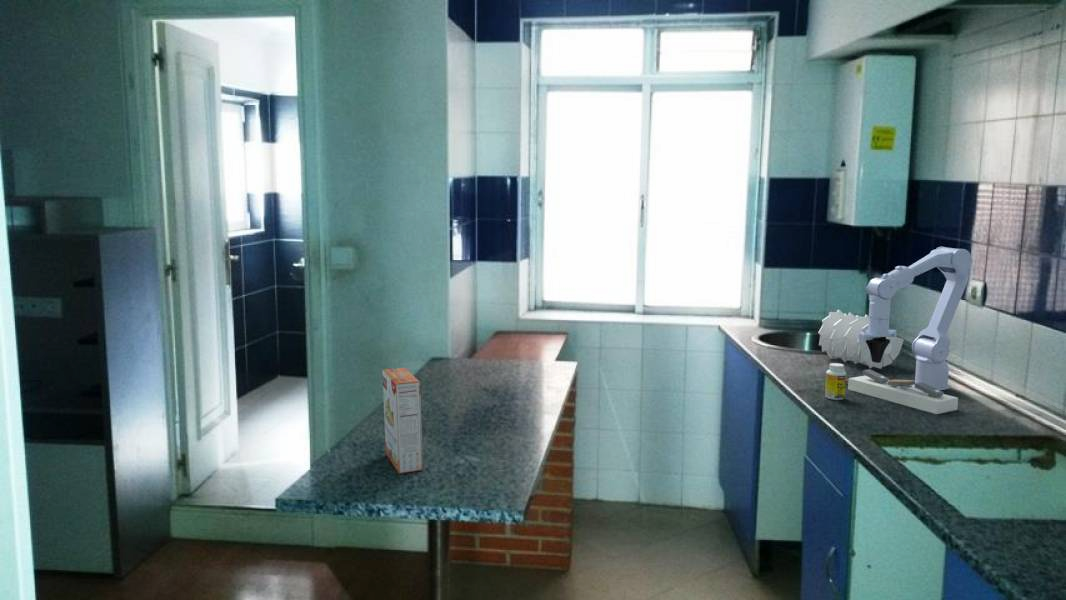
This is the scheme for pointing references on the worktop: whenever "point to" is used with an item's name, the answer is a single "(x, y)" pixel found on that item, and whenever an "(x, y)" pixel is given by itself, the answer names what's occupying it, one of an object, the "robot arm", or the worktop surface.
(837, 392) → the supplement bottle
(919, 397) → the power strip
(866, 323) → the white ribbed cylinder
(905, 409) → the worktop surface
